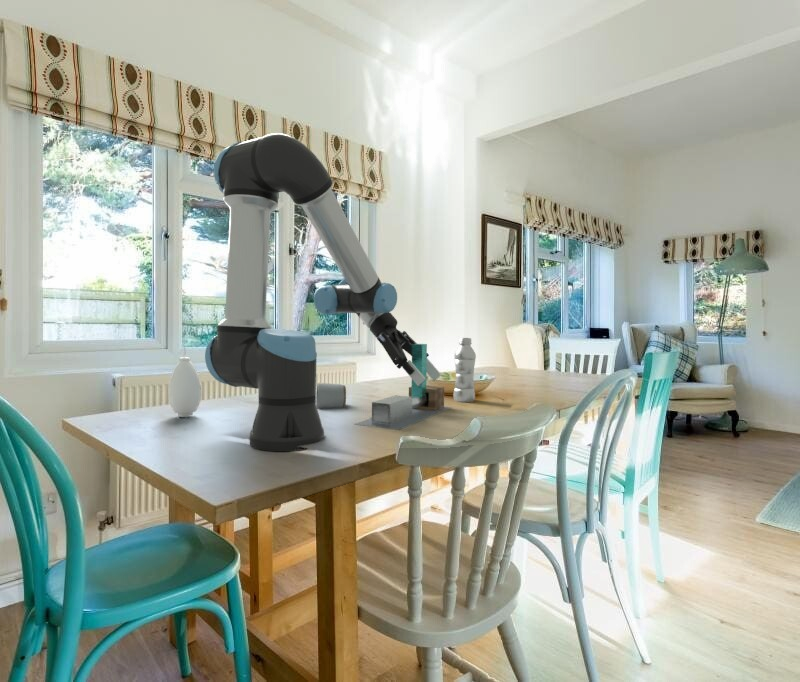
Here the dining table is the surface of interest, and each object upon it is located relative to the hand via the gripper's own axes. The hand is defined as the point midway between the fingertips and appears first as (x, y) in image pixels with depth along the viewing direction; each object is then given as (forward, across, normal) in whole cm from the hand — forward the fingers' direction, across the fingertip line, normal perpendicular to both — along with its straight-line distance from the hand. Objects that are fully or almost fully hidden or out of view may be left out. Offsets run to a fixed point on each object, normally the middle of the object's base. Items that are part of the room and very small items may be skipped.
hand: (430, 380), depth 136 cm
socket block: (+4, -4, -8) cm, 10 cm away
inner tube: (+3, +3, -7) cm, 8 cm away
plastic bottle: (+8, -22, -6) cm, 24 cm away
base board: (+4, +8, -9) cm, 12 cm away
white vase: (-31, +34, -45) cm, 64 cm away
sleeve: (+4, +16, -8) cm, 18 cm away
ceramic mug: (-13, +6, -27) cm, 31 cm away
